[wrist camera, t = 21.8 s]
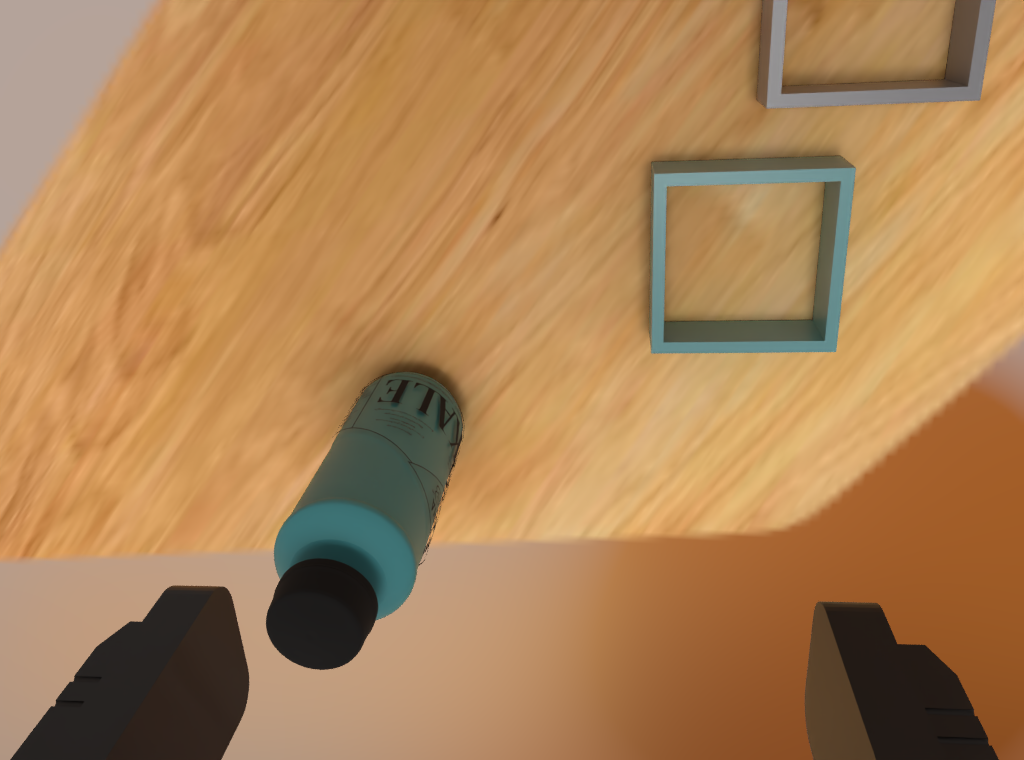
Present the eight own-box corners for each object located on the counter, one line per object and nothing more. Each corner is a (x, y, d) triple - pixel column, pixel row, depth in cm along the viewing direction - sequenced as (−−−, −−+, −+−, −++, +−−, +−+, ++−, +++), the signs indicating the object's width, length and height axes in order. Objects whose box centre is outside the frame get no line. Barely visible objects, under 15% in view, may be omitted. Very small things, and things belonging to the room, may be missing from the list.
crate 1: (651, 161, 45) (654, 174, 42) (840, 155, 44) (855, 167, 41) (649, 332, 48) (651, 353, 46) (822, 330, 47) (835, 351, 45)
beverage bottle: (366, 454, 53) (241, 699, 35) (356, 352, 51) (215, 562, 33) (472, 458, 53) (401, 709, 35) (469, 355, 50) (389, 570, 32)
